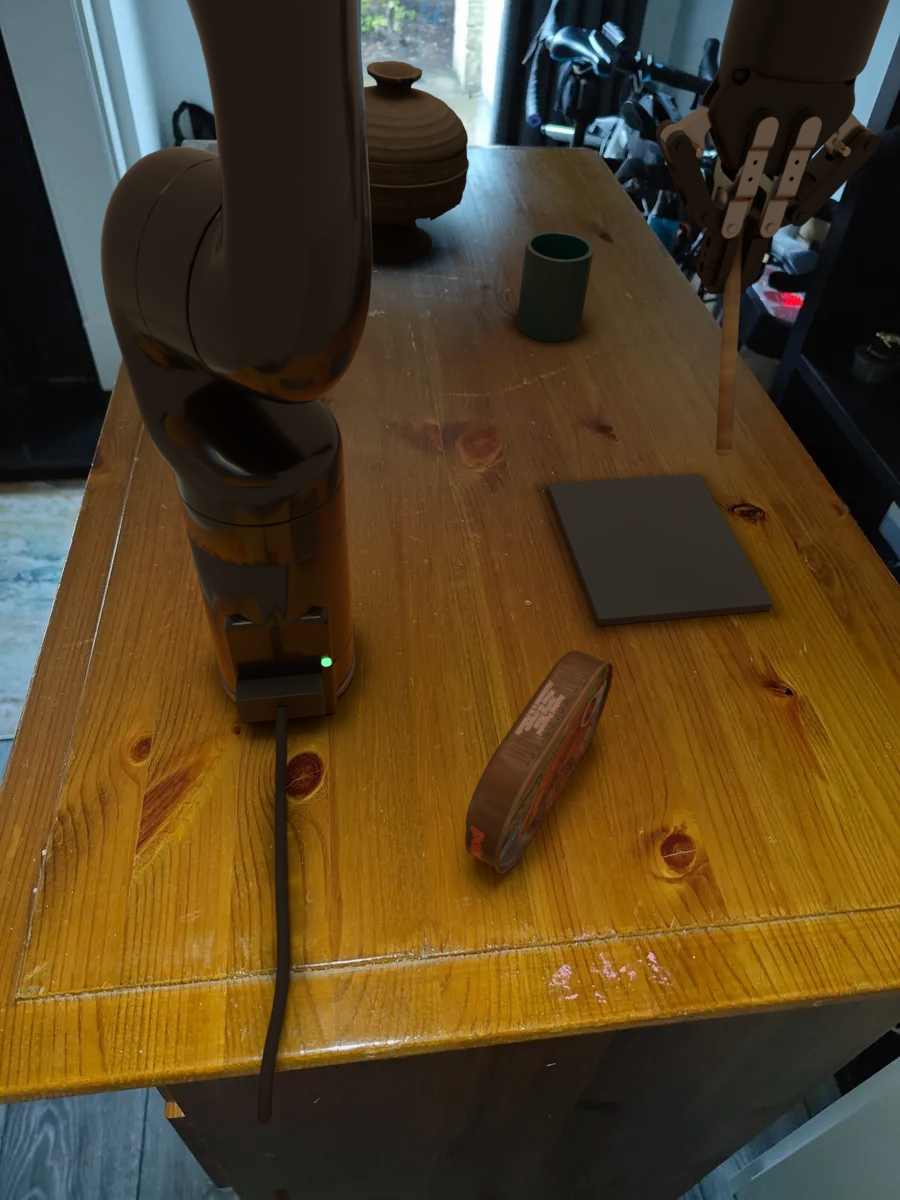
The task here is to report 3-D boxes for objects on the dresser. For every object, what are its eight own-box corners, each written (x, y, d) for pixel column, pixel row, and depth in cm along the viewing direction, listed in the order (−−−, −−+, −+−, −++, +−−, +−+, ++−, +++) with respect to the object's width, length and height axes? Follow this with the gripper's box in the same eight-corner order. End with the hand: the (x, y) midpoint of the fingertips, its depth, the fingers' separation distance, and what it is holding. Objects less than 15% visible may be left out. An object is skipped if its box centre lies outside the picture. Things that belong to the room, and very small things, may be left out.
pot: (495, 232, 108) (499, 55, 93) (417, 297, 99) (407, 112, 83) (381, 199, 114) (367, 28, 99) (298, 257, 105) (268, 78, 89)
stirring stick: (731, 459, 56) (799, 267, 47) (717, 460, 56) (782, 268, 47) (689, 392, 62) (742, 209, 52) (676, 393, 62) (727, 209, 52)
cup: (586, 340, 92) (601, 260, 86) (524, 343, 91) (534, 262, 85) (570, 309, 97) (583, 230, 90) (510, 311, 96) (519, 231, 89)
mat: (769, 610, 66) (773, 603, 65) (597, 626, 64) (599, 619, 63) (696, 480, 76) (699, 473, 76) (546, 490, 74) (548, 483, 74)
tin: (496, 899, 49) (510, 828, 43) (449, 870, 50) (457, 797, 44) (605, 720, 58) (630, 640, 52) (564, 699, 59) (584, 618, 53)
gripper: (723, -30, 38) (641, 321, 51) (988, -23, 40) (845, 313, 53) (668, -64, 43) (605, 264, 56) (906, -56, 45) (793, 259, 58)
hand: (722, 287), depth 54 cm, fingers closed on stirring stick, 1 cm apart
